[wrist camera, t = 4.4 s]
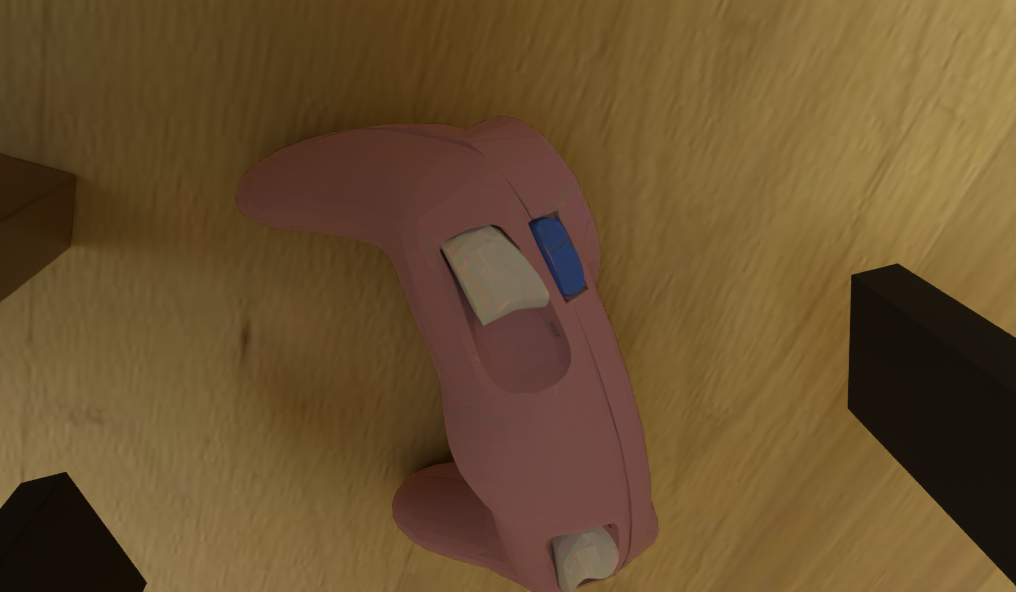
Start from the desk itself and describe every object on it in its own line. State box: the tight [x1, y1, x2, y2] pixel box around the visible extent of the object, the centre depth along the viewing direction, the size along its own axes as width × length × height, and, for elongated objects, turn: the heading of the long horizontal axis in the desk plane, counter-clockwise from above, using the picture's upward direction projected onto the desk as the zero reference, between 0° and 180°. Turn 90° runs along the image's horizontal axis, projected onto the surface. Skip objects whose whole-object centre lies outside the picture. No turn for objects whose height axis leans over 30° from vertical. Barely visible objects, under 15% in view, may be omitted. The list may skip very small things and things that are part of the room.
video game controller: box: [235, 116, 659, 592], centre depth 12 cm, size 10×5×7 cm, turn 15°
